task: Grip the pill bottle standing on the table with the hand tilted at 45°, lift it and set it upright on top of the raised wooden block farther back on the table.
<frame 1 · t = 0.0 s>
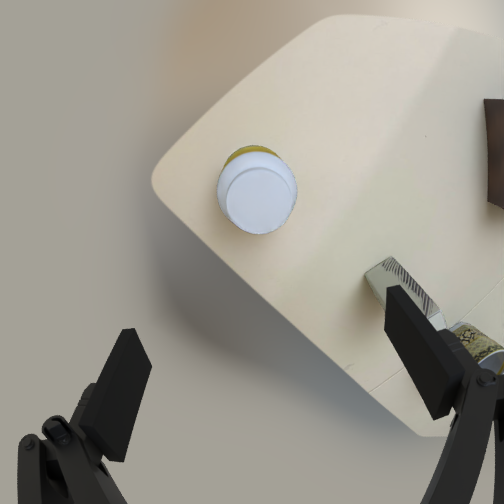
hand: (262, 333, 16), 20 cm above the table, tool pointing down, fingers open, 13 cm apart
pill bottle: (254, 175, 33), on the table
box: (383, 277, 38), on the table
ceramic cup: (449, 336, 43), on the table
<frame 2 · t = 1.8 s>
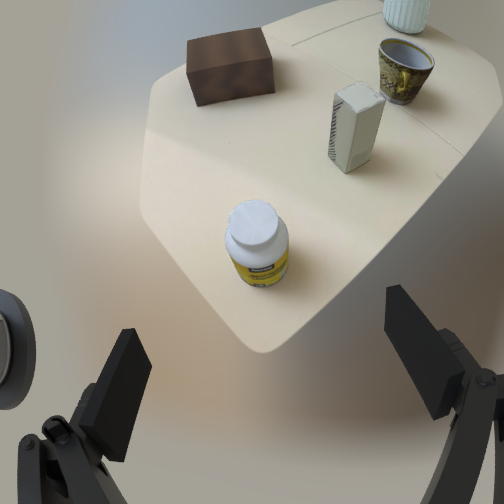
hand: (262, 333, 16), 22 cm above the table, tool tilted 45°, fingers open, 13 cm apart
vase: (402, 27, 59), on the table
pill bottle: (262, 264, 40), on the table
box: (347, 159, 45), on the table
ceramic cup: (395, 99, 49), on the table
wooden block: (232, 80, 54), on the table
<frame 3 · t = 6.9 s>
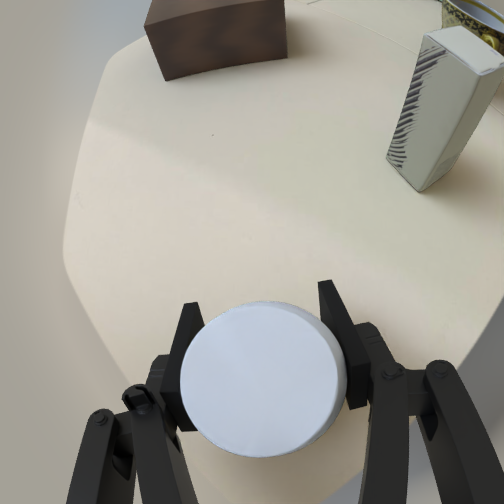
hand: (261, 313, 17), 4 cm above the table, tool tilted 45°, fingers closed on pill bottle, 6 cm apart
pill bottle: (273, 376, 19), on the table, touching gripper
box: (417, 166, 24), on the table
ceramic cup: (462, 78, 28), on the table
wooden block: (221, 43, 33), on the table
when the fingers open (12 cm above the table, at t = 17.5 s): pill bottle stays where it is, resting on wooden block.
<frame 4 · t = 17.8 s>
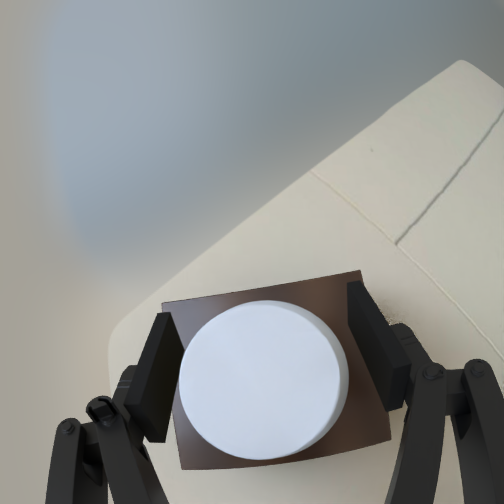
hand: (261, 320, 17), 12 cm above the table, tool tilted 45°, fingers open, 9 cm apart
pill bottle: (273, 377, 19), point 8 cm above the table, touching wooden block
wooden block: (277, 375, 26), on the table
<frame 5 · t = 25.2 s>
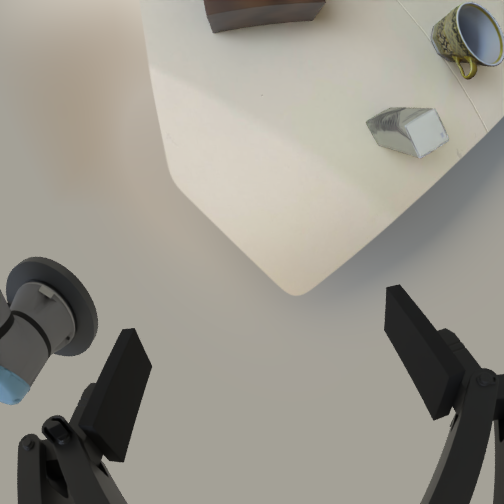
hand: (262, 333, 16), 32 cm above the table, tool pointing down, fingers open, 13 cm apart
box: (383, 127, 41), on the table
ceramic cup: (444, 49, 35), on the table
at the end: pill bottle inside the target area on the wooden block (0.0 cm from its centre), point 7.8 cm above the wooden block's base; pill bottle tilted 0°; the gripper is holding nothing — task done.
